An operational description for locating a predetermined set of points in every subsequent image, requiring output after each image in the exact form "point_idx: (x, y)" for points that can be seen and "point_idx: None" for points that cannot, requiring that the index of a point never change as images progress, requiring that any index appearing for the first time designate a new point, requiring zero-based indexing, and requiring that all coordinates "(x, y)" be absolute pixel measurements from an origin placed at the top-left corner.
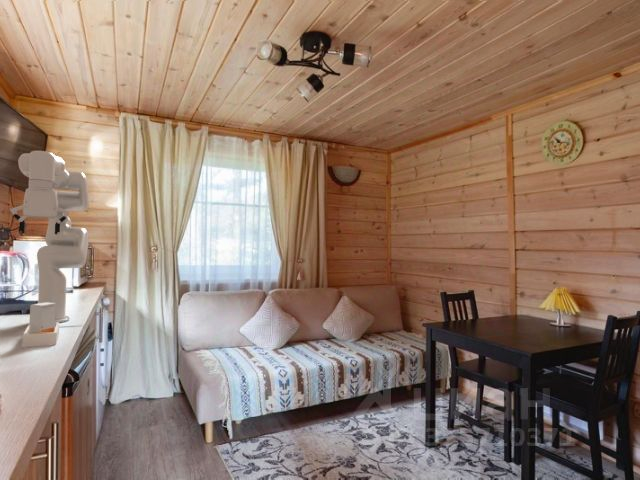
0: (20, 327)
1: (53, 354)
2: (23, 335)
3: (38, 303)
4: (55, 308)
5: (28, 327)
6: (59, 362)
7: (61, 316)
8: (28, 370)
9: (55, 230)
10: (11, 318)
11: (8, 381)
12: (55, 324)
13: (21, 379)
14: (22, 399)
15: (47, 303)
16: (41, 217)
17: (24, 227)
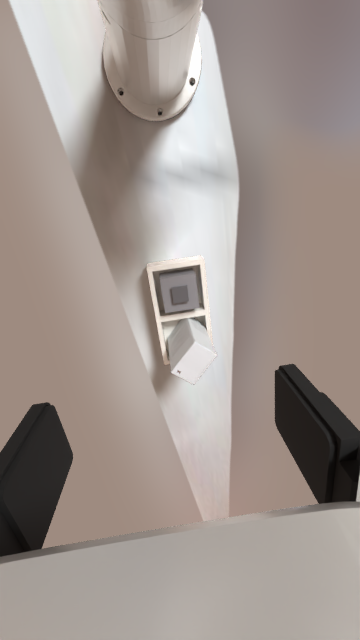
0: (99, 152)
1: (214, 398)
2: (165, 364)
3: (182, 358)
4: (214, 349)
5: (155, 302)
6: (227, 432)
7: (184, 82)
8: (199, 452)
9: (292, 447)
10: None
11: (189, 477)
12: (197, 264)
13: (199, 474)
14: (212, 513)
15: (201, 361)
16: (170, 541)
17: (52, 491)
